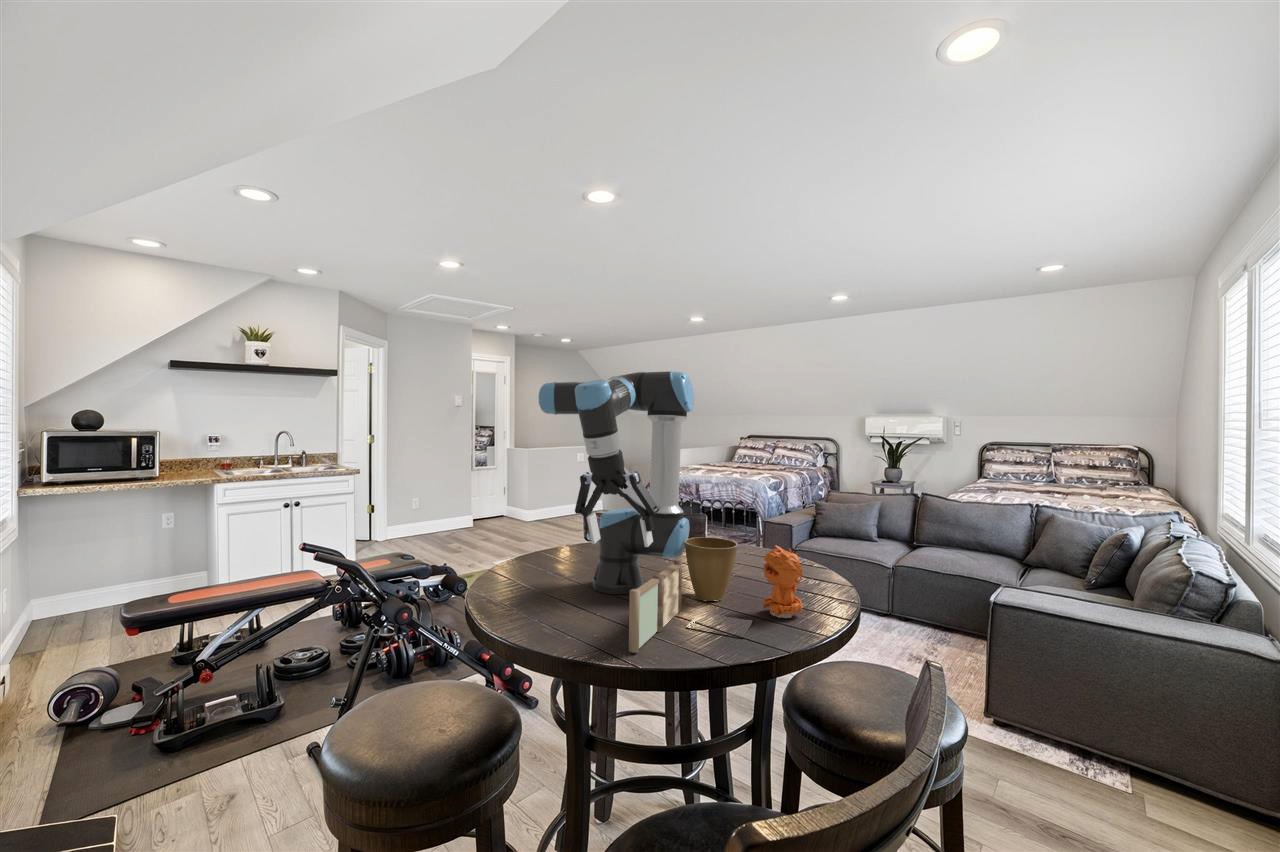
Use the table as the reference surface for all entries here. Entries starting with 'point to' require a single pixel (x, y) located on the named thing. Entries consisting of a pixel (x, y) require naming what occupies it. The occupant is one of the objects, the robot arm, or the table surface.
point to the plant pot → (710, 565)
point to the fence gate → (643, 614)
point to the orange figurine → (782, 581)
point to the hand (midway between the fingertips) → (622, 542)
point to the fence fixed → (669, 593)
